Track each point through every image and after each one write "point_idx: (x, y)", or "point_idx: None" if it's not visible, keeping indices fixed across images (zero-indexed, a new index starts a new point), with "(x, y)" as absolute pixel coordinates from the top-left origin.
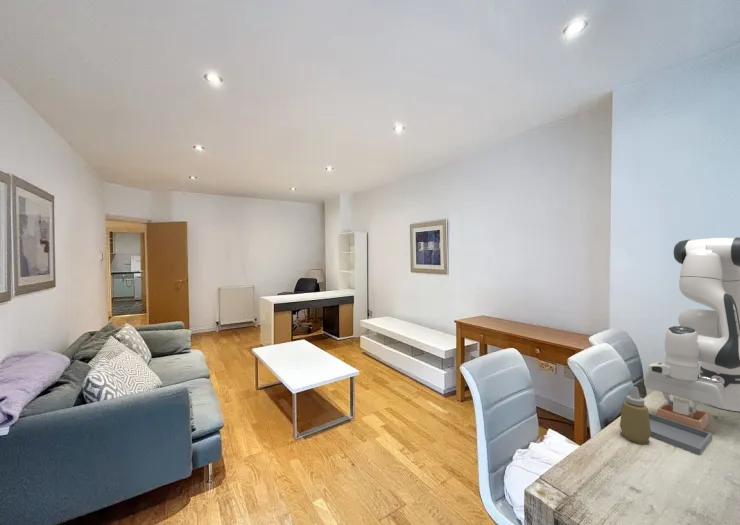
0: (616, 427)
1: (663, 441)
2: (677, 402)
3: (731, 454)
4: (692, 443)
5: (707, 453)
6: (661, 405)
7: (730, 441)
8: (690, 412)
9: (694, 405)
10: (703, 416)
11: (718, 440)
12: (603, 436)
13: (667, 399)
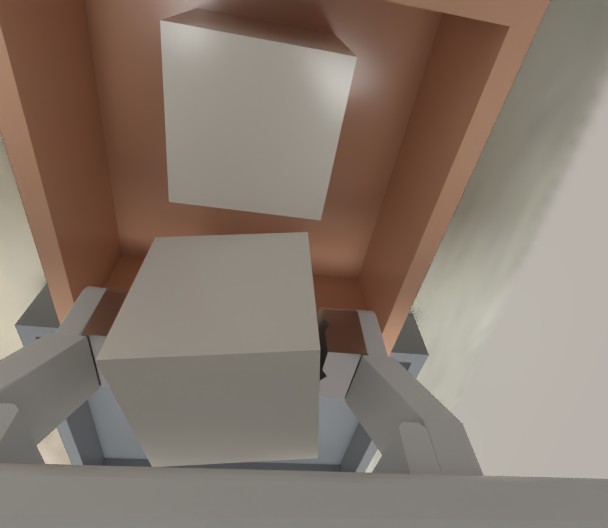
0: (52, 462)
1: (231, 466)
2: (203, 455)
3: (463, 378)
4: (325, 416)
5: None
6: (31, 230)
7: (521, 238)
8: (320, 198)
9: (377, 444)
10: (436, 219)
11: (450, 277)
12: None
13: (72, 406)
